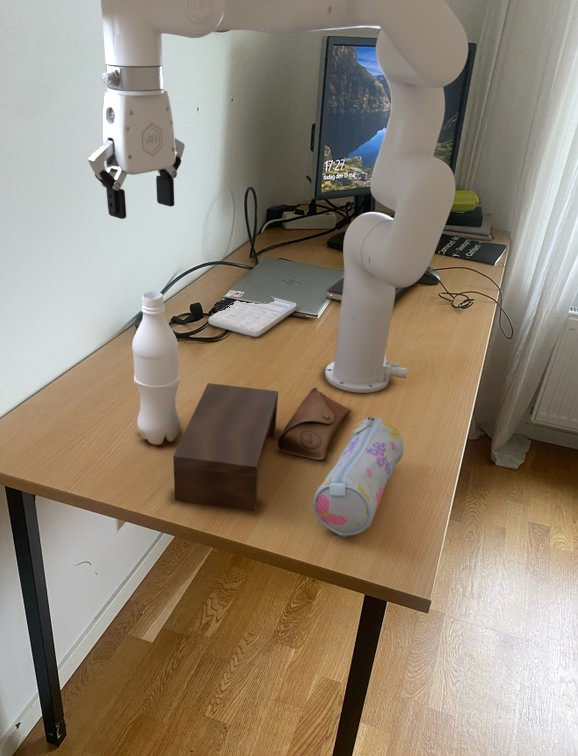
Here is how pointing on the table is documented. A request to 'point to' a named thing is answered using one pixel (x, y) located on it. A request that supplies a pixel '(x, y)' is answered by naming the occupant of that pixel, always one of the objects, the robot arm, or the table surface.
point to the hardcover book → (338, 291)
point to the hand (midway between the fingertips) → (142, 210)
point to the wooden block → (225, 446)
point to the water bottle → (156, 372)
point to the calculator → (252, 316)
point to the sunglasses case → (312, 426)
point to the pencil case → (359, 478)
